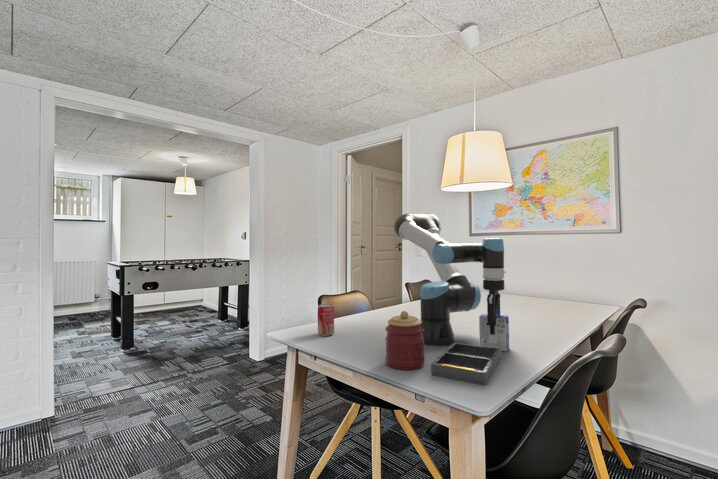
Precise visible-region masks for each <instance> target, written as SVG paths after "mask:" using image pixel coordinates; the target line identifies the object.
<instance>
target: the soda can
mask: <svg viewBox="0 0 718 479" xmlns="http://www.w3.org/2000/svg"><path fill="white" fill-rule="evenodd" d="M334 333H335V311H334V307H333V304H331V303H323V304H321V303H320V304H319V305H318V307H317V334H318V335H319V336H320V335H321V336H320V337H330V335H331V336H333V335H334Z"/></svg>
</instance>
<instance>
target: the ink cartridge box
mask: <svg viewBox="0 0 718 479" xmlns="http://www.w3.org/2000/svg"><path fill="white" fill-rule="evenodd" d="M496 311H497V312H498V313H496V325H497V344H496V343H489V325H486V323H487V313H482V314H480V315H479V317H478V319H479V320H478V321H479V324H478V326H479V346H484V347H491V348H498V349H501V352H507V351H508V350H509V349H510V326H509V325H510V322H509V321H510V319H509V315H502V314H500V315H499V309H496ZM491 322H492V321H491Z"/></svg>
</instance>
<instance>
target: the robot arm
mask: <svg viewBox="0 0 718 479" xmlns="http://www.w3.org/2000/svg"><path fill="white" fill-rule="evenodd" d="M441 229H442V226H441V222H440V219H439V218H438V216H436V215H435V214H429V213H404V214H401V215H399V216H397V218H396V219H395V221H394V223H393V231H394V233H395V235H396V236H398V237H399V238H401V240H402V241H403V240H404V241H409V242H411V243H413V244H414V245H416V246H417V247H419V248H421V249H422V250H424V251H426V253H427V256H428V257H429V259H430V261H431V263H432V265H433V267H434V269H435V271H436V272H437V274H438V276H439V278H440V280H441V281H439V280H438V281H430V282H427V283H424V284H423V285H421V287H420V292H419V293H420V294H419V298H420V320H421V322H422V323H421V324H420V325H421V326H422V327H423V328H424V331H423V337H424V345H430V346H431V345H432V346H446V345H452V344H453V343H455V338H456V337H455V333H454V330H453V327H452V323H451V318H450V316H451V314H452V313H458V312H460V313H461V312H469V311H473V310H476V309H477V308H478V307H479V305H480V303H481V298H482V293H481V289H480V287H479V285H478V284H477V283H475V282H472V281H471V282H470V281H469V280H468V278H467V276H466V275H465V274H461V273H460V271H459V268H457V266H456V264H460V263H464V264H465V263H482V278H483V281H482V288H483V290H486V291H488V294H487V298H486V305H487V307H486V308H487V310H486V311H487V312H486V314H487V323H486V325H489V343H496V344H497V325H496V313H498V312H497V311H496V309H499V315H501V293H500V291H504V290H505V280H504V278H505V274H506V273H507V272H506V270H505V246H504V239H502V238H501V237H498V238H491V237H489V238H485V237H484V238H483V239H482V243H478V242H477V243H473V242H467V243H450V242H449V241H446V240H444V239H443V238H441V237H440V234H441ZM491 321H492V322H491Z"/></svg>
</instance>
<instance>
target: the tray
mask: <svg viewBox="0 0 718 479" xmlns="http://www.w3.org/2000/svg"><path fill="white" fill-rule="evenodd" d="M501 353H502V351H501V349H498V348H491V347H484V346H480V345H477V344H476V345H475V344H470V343H469V344H468V343H460V342H453V343H451V344H450V346H449V347H447V348H446V349H445V350H444V351H443V352H442V353H441V354H440V355H439V356H438V357H436V358H435V359H434V361H432V362H431V363H430V371H431V372H430V373H431V374H430V375H431V376H433V377H434V376H435V377H440V378H444V379H451V380H455V381H461V382H466V383H471V384H476V385H481V386H486V385H487V384H488V382H489V380H490V378H491V377H492V375H493V373H494V372H495V370H496V368H497V366H498V365H499V363H500V361H501V356H502V354H501Z"/></svg>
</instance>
